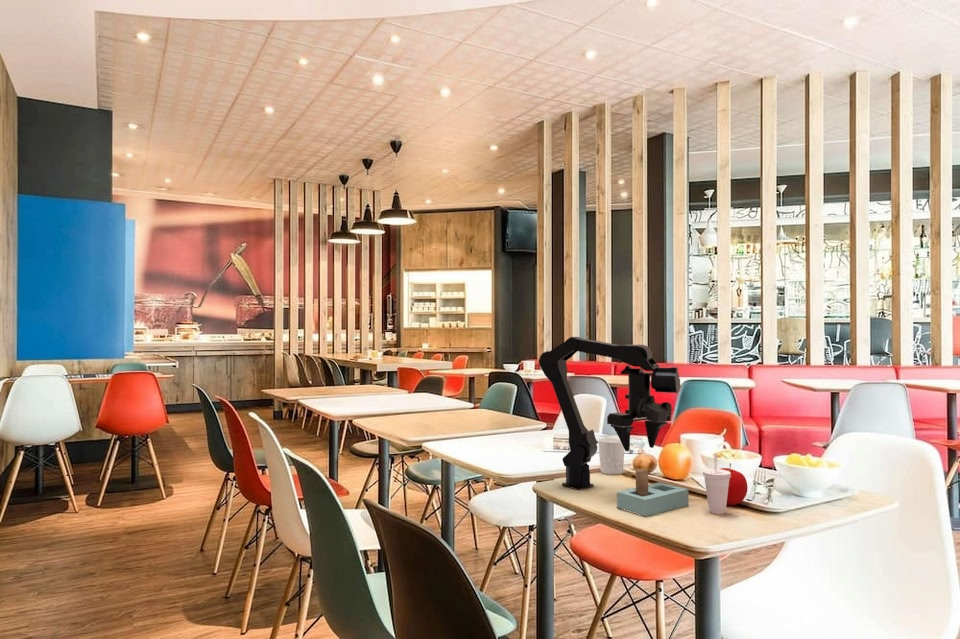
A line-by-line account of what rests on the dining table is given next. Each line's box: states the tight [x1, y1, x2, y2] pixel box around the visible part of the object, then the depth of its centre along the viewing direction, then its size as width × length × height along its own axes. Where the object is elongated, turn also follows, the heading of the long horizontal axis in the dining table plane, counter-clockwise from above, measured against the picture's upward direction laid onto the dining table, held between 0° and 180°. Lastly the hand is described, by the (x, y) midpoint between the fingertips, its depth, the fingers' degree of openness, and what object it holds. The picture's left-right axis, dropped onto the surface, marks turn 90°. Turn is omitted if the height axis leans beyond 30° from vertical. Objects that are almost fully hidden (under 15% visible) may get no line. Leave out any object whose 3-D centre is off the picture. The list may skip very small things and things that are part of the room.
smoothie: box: [702, 453, 731, 515], centre depth 151 cm, size 6×6×14 cm
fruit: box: [719, 462, 748, 506], centre depth 158 cm, size 9×9×10 cm
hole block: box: [616, 482, 690, 517], centre depth 155 cm, size 9×16×4 cm, turn 124°
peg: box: [635, 468, 649, 496], centre depth 153 cm, size 3×3×10 cm
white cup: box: [598, 437, 625, 476], centre depth 193 cm, size 8×8×10 cm
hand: (639, 449), depth 168 cm, fingers open, 9 cm apart
